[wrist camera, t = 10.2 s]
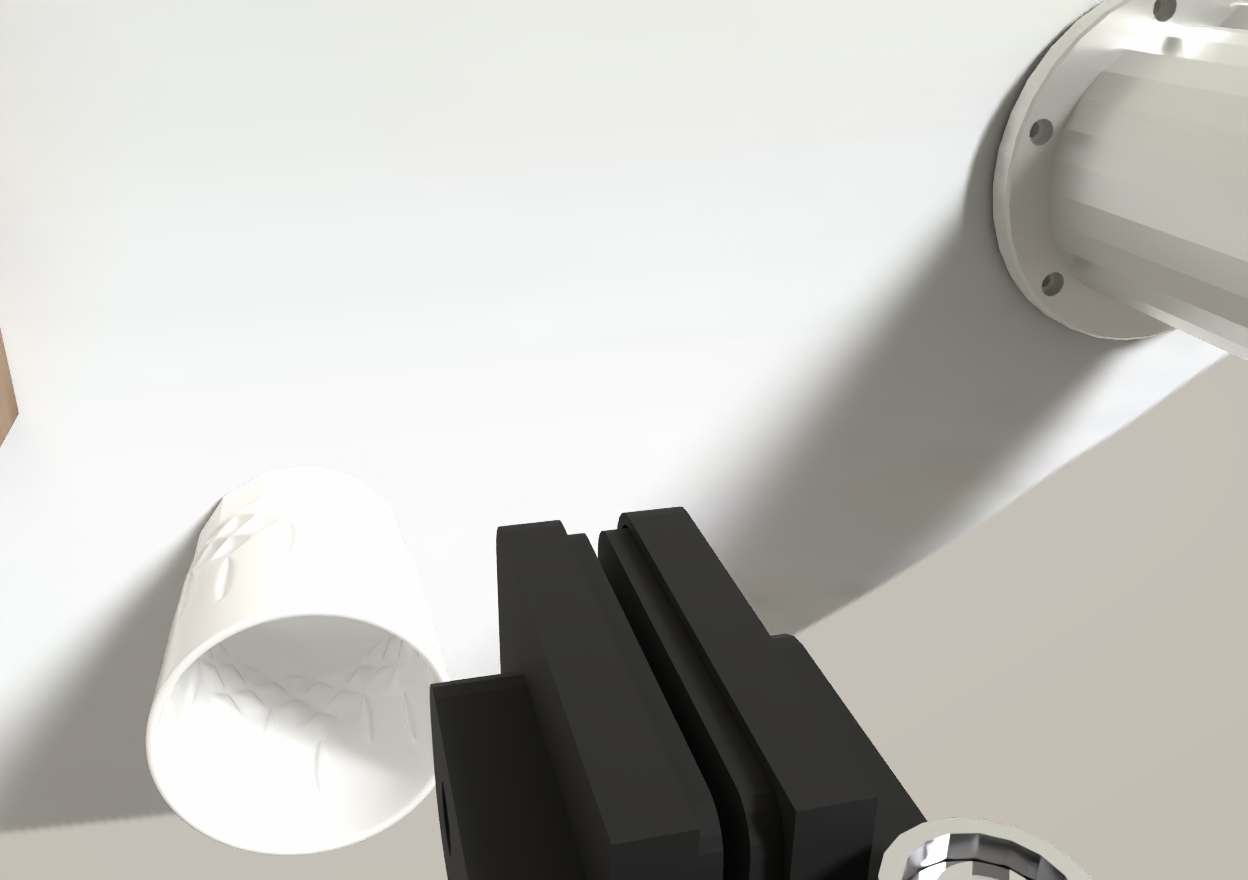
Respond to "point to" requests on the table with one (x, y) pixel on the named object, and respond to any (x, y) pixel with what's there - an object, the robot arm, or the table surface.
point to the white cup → (297, 671)
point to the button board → (6, 396)
